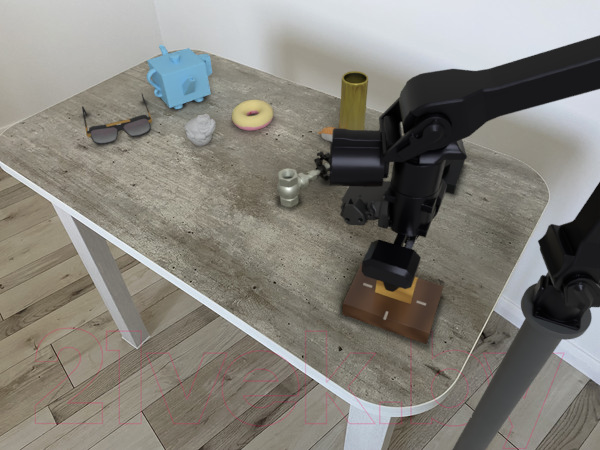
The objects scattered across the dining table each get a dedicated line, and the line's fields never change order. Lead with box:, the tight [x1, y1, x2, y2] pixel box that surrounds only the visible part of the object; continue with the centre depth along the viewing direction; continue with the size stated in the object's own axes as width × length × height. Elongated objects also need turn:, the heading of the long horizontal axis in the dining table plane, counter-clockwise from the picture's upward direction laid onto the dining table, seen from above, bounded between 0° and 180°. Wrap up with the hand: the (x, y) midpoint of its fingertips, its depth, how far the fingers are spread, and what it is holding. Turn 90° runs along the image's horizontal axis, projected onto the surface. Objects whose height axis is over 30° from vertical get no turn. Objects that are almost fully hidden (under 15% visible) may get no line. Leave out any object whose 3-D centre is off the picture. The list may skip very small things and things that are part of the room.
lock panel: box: [341, 262, 444, 345], centre depth 74 cm, size 13×10×3 cm
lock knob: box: [375, 276, 419, 304], centre depth 71 cm, size 6×2×5 cm, turn 66°
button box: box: [442, 159, 466, 195], centre depth 95 cm, size 11×9×4 cm
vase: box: [338, 70, 369, 130], centre depth 101 cm, size 6×6×14 cm
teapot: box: [146, 44, 213, 110], centre depth 115 cm, size 16×18×11 cm
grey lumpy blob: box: [183, 113, 217, 147], centre depth 103 cm, size 6×7×7 cm
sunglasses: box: [81, 93, 153, 145], centre depth 110 cm, size 14×15×5 cm
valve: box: [276, 150, 330, 208], centre depth 91 cm, size 7×7×12 cm
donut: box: [231, 99, 274, 132], centre depth 110 cm, size 10×5×9 cm
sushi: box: [317, 126, 336, 143], centre depth 104 cm, size 3×6×3 cm, turn 65°
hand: (399, 265), depth 68 cm, fingers open, 9 cm apart
